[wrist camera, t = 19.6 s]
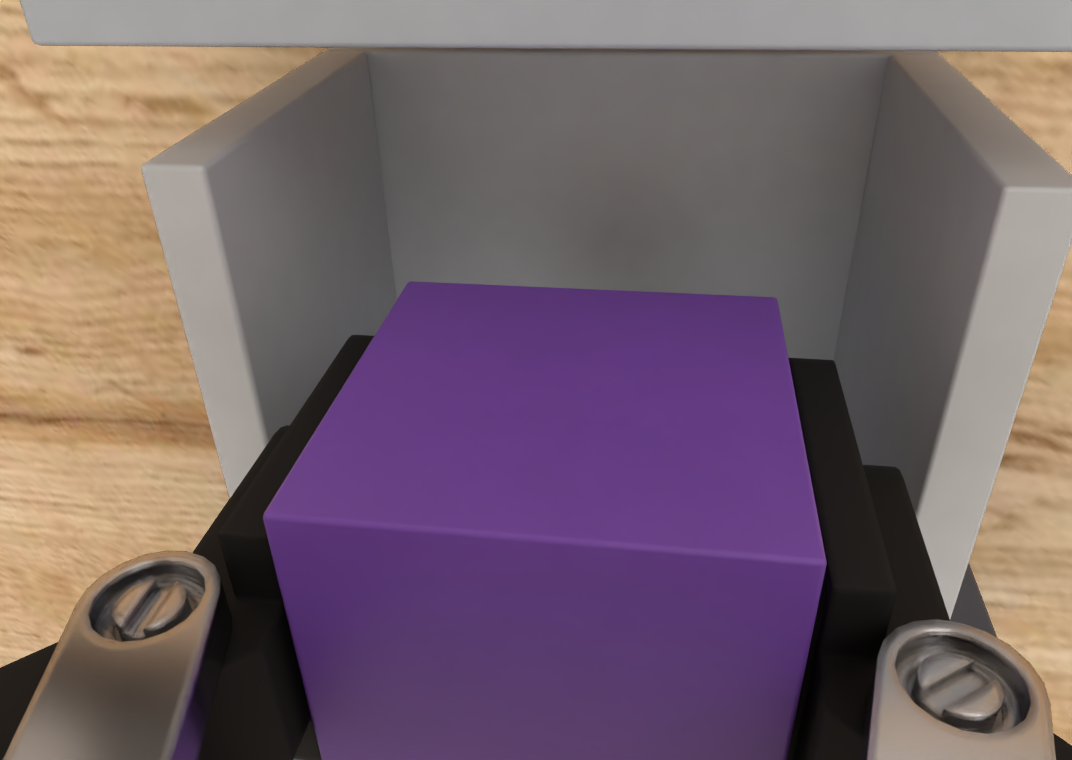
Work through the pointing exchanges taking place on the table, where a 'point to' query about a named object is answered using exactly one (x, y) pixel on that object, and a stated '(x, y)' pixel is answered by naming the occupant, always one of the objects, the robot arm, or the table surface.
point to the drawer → (623, 194)
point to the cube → (555, 532)
